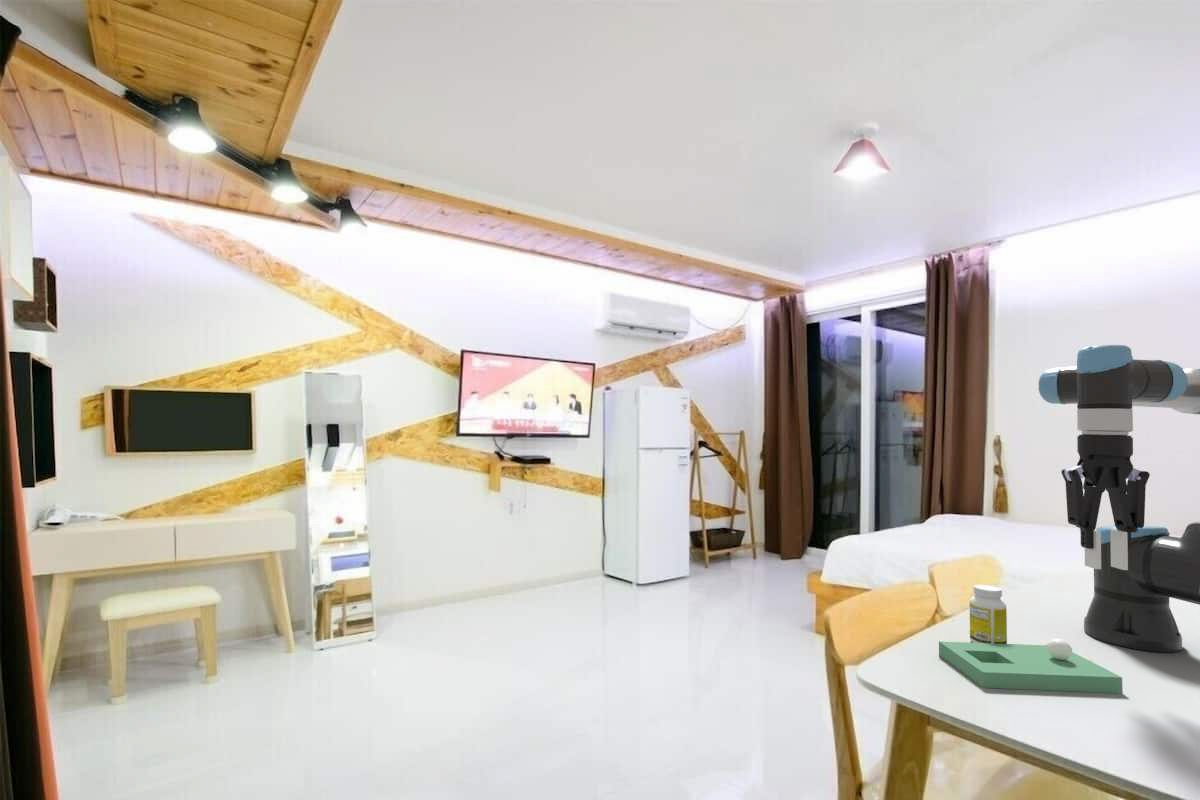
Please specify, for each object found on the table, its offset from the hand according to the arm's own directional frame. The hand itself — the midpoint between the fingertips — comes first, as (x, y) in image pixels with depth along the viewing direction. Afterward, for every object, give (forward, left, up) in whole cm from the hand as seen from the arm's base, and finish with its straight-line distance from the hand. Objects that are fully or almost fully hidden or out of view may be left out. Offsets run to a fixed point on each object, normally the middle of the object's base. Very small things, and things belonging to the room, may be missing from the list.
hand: (1106, 567), depth 105 cm
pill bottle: (+12, -14, -19) cm, 26 cm away
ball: (+8, 0, -14) cm, 16 cm away
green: (+14, 0, -19) cm, 23 cm away
